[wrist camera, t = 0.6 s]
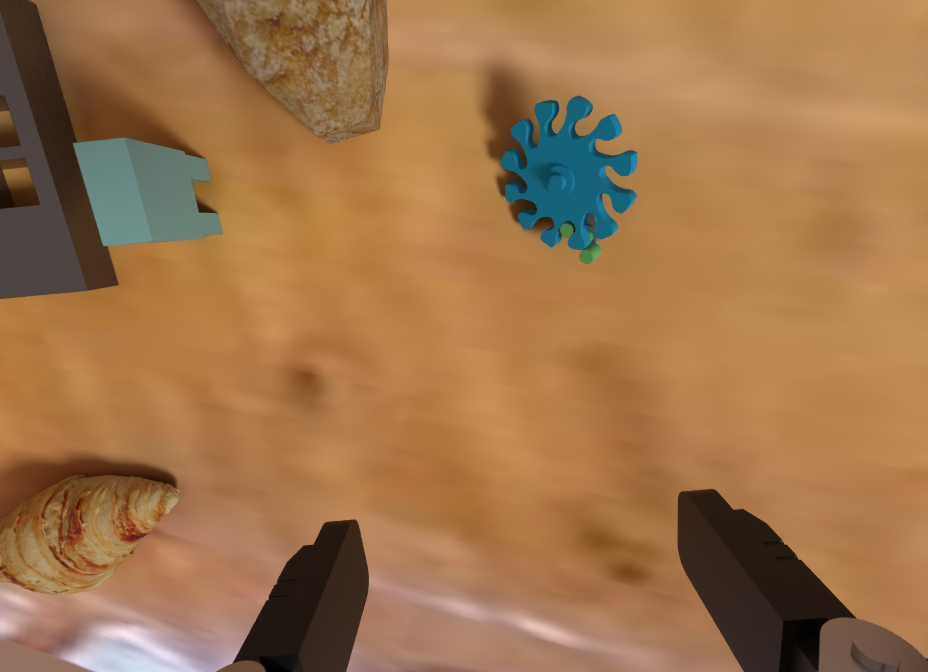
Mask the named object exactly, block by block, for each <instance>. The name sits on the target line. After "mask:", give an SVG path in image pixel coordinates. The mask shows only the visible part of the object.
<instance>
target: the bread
mask: <svg viewBox="0 0 928 672" xmlns="http://www.w3.org/2000/svg"><path fill="white" fill-rule="evenodd" d="M196 1H197V3H198V4H199V5H200V7H201V8H202V10H203V11H204V12H205V14H206V15H207V17H208V18H209V20H210V21H211V22H212V24H213V25H214V27H215V28H216V29H217V31H218V32H219V34H220V35H221V37H222V38H223V39H224V41H225V42H226V44H227V45H228V47H229V48H230V49H231V51H232V52H233V54H234V55H235V56H236V58H237V59H238V61H239V62H240V64H241V65H242V66H243V68H244V69H245V70H246V71H247V72H248V73H249V74H250V75H251V76H252V77H253V78H254V79H255V80H256V81H257V82H259V83H260V84H261V85H262V86H263V87H264V88H265V89H266V90H267V91H268V92H269V93H270V94H272V95H273V96H274V97H275V98H276V99H277V100H278V101H279V102H280V103H281V104H282V105H284V106H285V107H286V108H287V109H288V110H289V111H290V112H291V113H292V114H293V115H294V116H295V117H297V118H298V119H299V120H300V121H301V122H302V123H303V124H304V125H305V126H306V127H307V128H308V129H310V130H311V131H312V132H313V133H314V134H315V135H316V136H318V137H320V138H321V139H323V140H325V141H327V142H329V143H331V144H332V143H336V142H339V141H342V140H346V139H349V138H352V137H356V136H359V135H362V134H366V133H369V132H372V131H376V130H379V129H380V122H381V114H382V107H383V100H384V93H385V85H386V78H387V71H388V63H389V61H388V27H387V0H196Z"/></svg>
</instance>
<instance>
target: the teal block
mask: <svg viewBox="0 0 928 672" xmlns="http://www.w3.org/2000/svg"><path fill="white" fill-rule="evenodd" d="M73 146H74V149H75V153H76V156H77V159H78V163H79V166H80V169H81V173H82V176H83V179H84V183H85V186H86V190H87V193H88V196H89V200H90V203H91V206H92V210H93V213H94V217H95V220H96V223H97V227H98V230H99V233H100V237H101V240H102V244H103V246H114V245H128V244H142V243H156V242H168V241H178V240H188V239H198V238H205V236H208V235H218V234H223V232H222V228H221V224H220V219H219V215H218V213H199V211H198V207H197V202H196V198H195V194H194V190H193V186H192V183H198V182H208V181H211V180H210V175H209V171H208V167H207V162H206V159H203V158H199V157H194V156H190V155H185V152H184V151H180V150H176V149H172V148H168V147H163V146H159V145H155V144H151V143H146V142H142V141H138V140H134V139H130V138H125V137H124V138H115V139H106V140H97V141H88V142H79V143H73Z"/></svg>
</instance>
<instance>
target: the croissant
mask: <svg viewBox="0 0 928 672" xmlns="http://www.w3.org/2000/svg"><path fill="white" fill-rule="evenodd" d="M179 494H180V491H179V490H178V489H176V488H175V487H174V486H172V485H170V484H168V483H167V484H165V483H163V482H156V481H152V480H148V479H145V478H142V477H133V476H130V477H126V476H117V475H103V476H93V477H87V478H86V477H85V475H72V476H69V477H67V478H65V479H63V480H61V481H59V482H57V483H55V484H54V485H51V486H49V487H48V488H46V489H44V490H43V491H41V492H39V493H37V494H36V495H34V496H32V497H31V498H29V499H27V500H26V501H24V502H23V503H21V504H19V505H18V506H16V507H15V508H14V509H13V510H12V511H11V512H10V513H9V514H8V515H6V516H5V518H4V519H2V520H1V521H0V582H12V583H14V584H17V585H19V586H21V587H23V588H25V589H29V590H31V591H34V592H41V593H48V594H57V593H60V594H73V593H78V592H83V591H89V590H92V589H95V588H97V587H99V586H100V585H102V584H103V583H104V582H105V580H106V579H107V578H108V577H110V576H111V575H112V574H113V573H114V571H115V569H116V567H117V565H118V564H120V563H121V562H123V561H125V560H126V559H128V558H129V557H130V556H131V555H132V554H133V550H134V548H135V545H136V544H137V542H138V541H139V540H140V539H141V538H143V537H144V536H145V535H147V534H148V533H150V532H151V531H153V529H154V527H155V525H156V524H157V522H158V521H159V520H160V517H161V515H165V514H167V513H169V512H170V510H171V509H172V508H173V507H174V505H175V504H176V503H177V502H178V500H179Z"/></svg>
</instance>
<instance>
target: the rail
mask: <svg viewBox="0 0 928 672" xmlns="http://www.w3.org/2000/svg"><path fill="white" fill-rule="evenodd" d="M8 110H10V113H11V116H12V119H13V122H14V125H15V128H16V131H17V134H18V137H19V141H20V144H21V146H12V147H3V148H0V299H5V298H15V297H26V296H36V295H47V294H58V293H68V292H79V291H89V290H94V289H99V288H105V287H110V286H116V285H118V281H117V278H116V275H115V271H114V268H113V264H112V261H111V258H110V254H109V251H108V247H107V246H103V244H102V240H101V237H100V233H99V230H98V227H97V223H96V220H95V217H94V213H93V210H92V206H91V203H90V200H89V196H88V193H87V190H86V186H85V183H84V179H83V176H82V173H81V169H80V166H79V163H78V159H77V156H76V153H75V149H74V146H73V143H77V142H76V139H75V135H74V132H73V128H72V125H71V122H70V118H69V115H68V112H67V108H66V105H65V101H64V98H63V95H62V91H61V88H60V84H59V81H58V78H57V74H56V71H55V67H54V64H53V61H52V57H51V54H50V50H49V47H48V44H47V40H46V37H45V33H44V30H43V27H42V23H41V20H40V16H39V13H38V10H37V6H36V5H35V4H33V3H31V2H29V1H27V0H0V111H8ZM22 167H28V168H29V171H30V174H31V178H32V181H33V184H34V187H35V190H36V193H37V196H38V199H39V202H40V205H35V206H25V207H14V204H13V201H12V198H11V195H10V192H9V189H8V186H7V183H6V180H5V178H4V175H3V172H2V170H4V169H13V168H22Z"/></svg>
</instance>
